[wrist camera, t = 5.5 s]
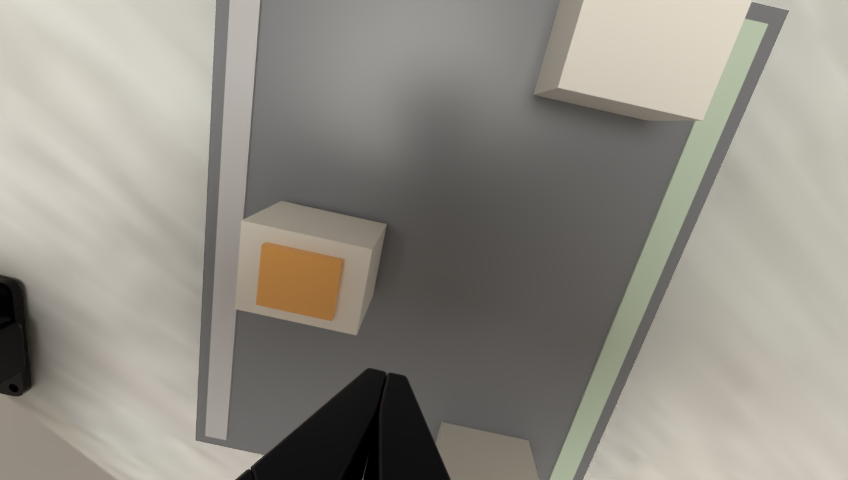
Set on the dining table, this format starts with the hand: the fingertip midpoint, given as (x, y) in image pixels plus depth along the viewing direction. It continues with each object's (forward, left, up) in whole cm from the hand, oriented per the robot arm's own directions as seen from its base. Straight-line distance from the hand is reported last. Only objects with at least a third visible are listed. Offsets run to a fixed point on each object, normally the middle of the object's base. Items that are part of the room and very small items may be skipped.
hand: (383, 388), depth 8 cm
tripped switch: (-3, 0, -7) cm, 8 cm away
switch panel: (+1, 0, -10) cm, 10 cm away
